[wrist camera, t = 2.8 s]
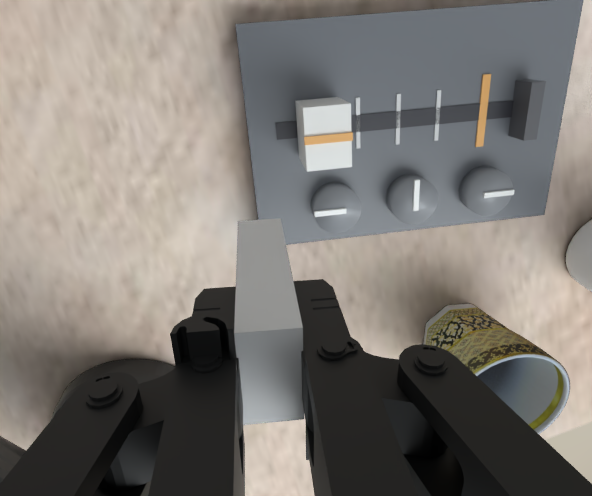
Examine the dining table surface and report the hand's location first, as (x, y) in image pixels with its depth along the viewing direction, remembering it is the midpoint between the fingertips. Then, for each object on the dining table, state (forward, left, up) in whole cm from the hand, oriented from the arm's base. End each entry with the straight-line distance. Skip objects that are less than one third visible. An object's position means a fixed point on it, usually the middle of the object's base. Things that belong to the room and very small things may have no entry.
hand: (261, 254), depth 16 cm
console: (+12, 0, -20) cm, 23 cm away
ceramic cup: (+18, -22, -20) cm, 35 cm away
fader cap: (+5, +1, -17) cm, 18 cm away
